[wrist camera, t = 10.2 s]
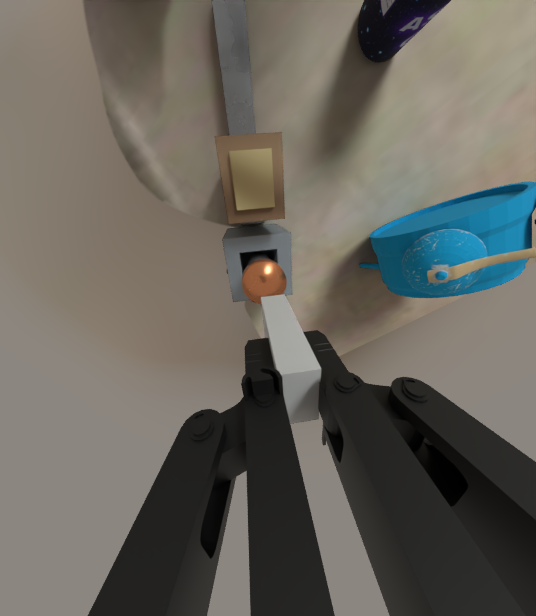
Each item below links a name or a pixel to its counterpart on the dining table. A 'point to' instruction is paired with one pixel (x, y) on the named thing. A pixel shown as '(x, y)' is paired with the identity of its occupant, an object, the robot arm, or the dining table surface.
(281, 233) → the grey boxy piece
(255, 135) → the carriage
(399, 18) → the beverage can
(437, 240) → the alarm clock
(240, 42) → the rail
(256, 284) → the gauge plunger
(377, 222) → the dining table surface
